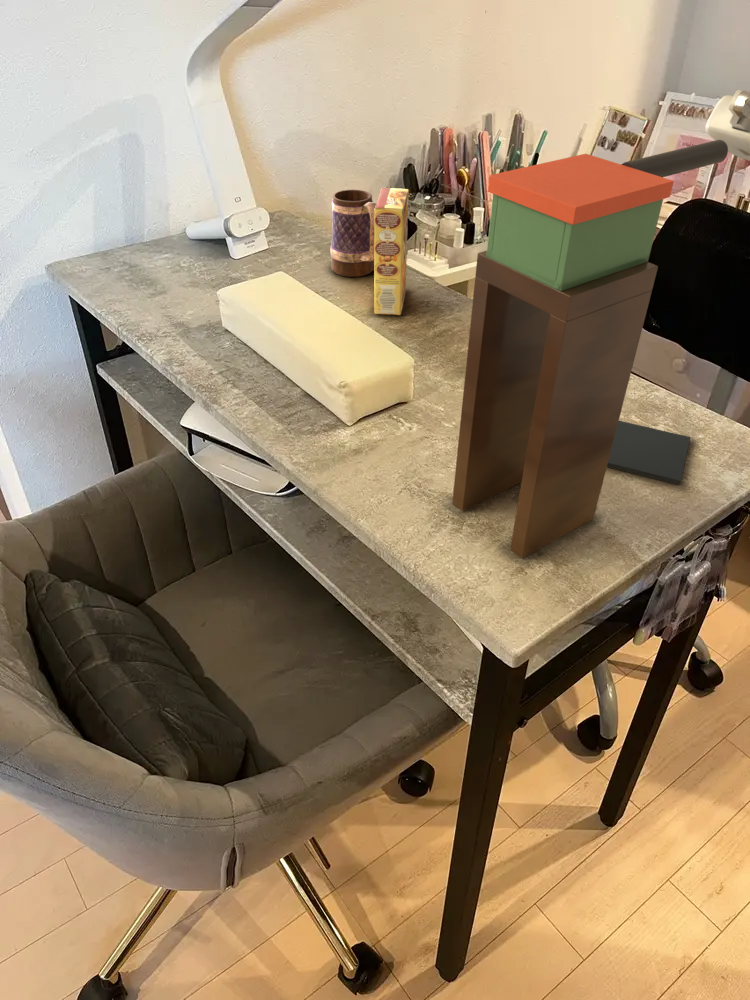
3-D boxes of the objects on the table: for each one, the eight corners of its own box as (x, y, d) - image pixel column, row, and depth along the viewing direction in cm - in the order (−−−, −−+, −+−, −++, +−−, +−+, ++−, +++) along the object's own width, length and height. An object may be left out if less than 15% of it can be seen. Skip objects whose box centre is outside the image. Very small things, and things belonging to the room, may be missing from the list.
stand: (522, 469, 83) (563, 228, 66) (593, 518, 76) (658, 266, 60) (451, 503, 78) (477, 252, 62) (521, 558, 72) (570, 296, 55)
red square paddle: (673, 150, 68) (679, 128, 67) (760, 174, 63) (768, 151, 62) (486, 195, 58) (489, 170, 57) (572, 229, 53) (576, 202, 52)
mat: (689, 441, 87) (690, 436, 87) (679, 485, 81) (681, 480, 80) (600, 420, 90) (601, 416, 90) (584, 461, 84) (585, 457, 83)
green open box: (572, 231, 66) (583, 170, 62) (648, 261, 61) (664, 196, 57) (485, 256, 61) (492, 192, 58) (560, 291, 56) (572, 222, 53)
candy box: (401, 316, 111) (405, 208, 101) (372, 314, 111) (373, 207, 101) (406, 291, 118) (410, 188, 108) (378, 289, 118) (380, 186, 108)
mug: (323, 265, 125) (321, 189, 117) (361, 257, 128) (361, 183, 120) (353, 288, 118) (353, 209, 110) (392, 280, 121) (395, 202, 113)
